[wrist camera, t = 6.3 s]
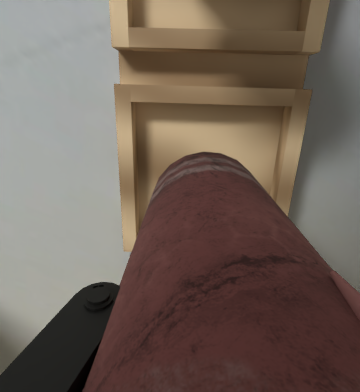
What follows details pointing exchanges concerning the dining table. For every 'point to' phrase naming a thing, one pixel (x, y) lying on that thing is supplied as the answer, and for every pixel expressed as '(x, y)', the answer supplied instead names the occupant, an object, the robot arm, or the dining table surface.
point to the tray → (211, 89)
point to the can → (226, 295)
